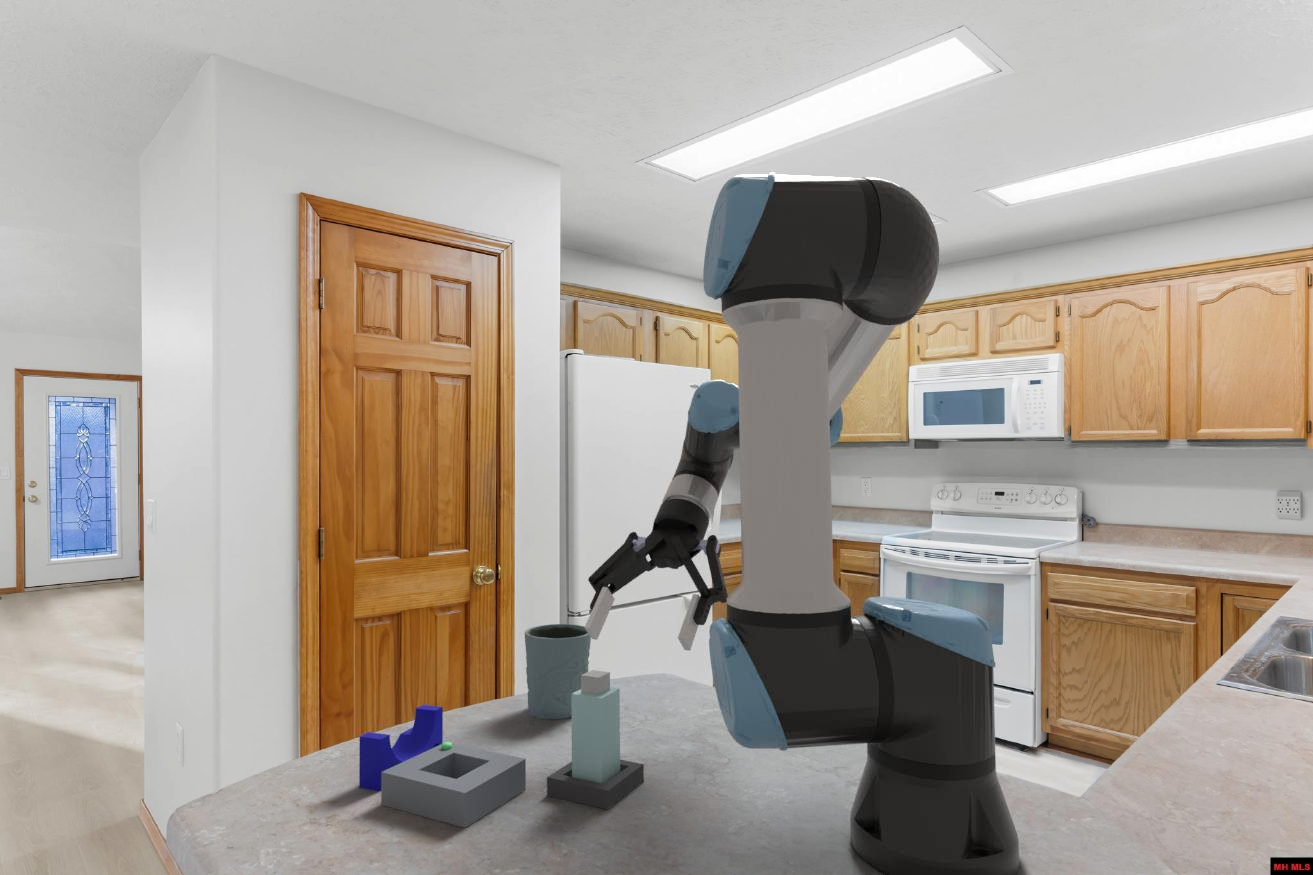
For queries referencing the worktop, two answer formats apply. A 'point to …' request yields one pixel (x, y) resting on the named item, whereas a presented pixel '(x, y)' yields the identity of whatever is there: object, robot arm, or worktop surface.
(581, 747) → the capped teal pillar
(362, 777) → the cable clip
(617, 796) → the frame
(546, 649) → the grey-green tumbler cup
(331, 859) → the worktop surface
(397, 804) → the block
